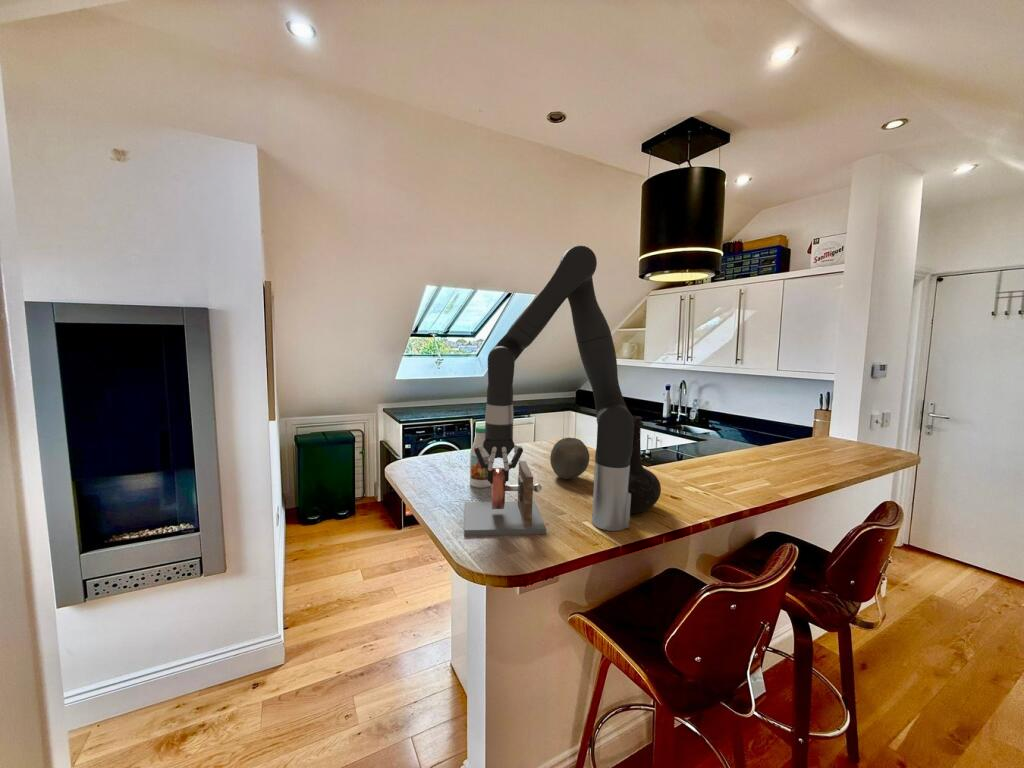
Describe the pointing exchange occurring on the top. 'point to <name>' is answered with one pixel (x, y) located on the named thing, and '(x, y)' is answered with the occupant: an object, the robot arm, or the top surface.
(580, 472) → the dark brown ball
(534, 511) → the base board
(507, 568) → the top surface
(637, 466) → the dark bulbous vase
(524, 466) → the brown wooden panel
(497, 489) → the copper disc with rod
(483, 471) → the milk bottle
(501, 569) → the top surface
